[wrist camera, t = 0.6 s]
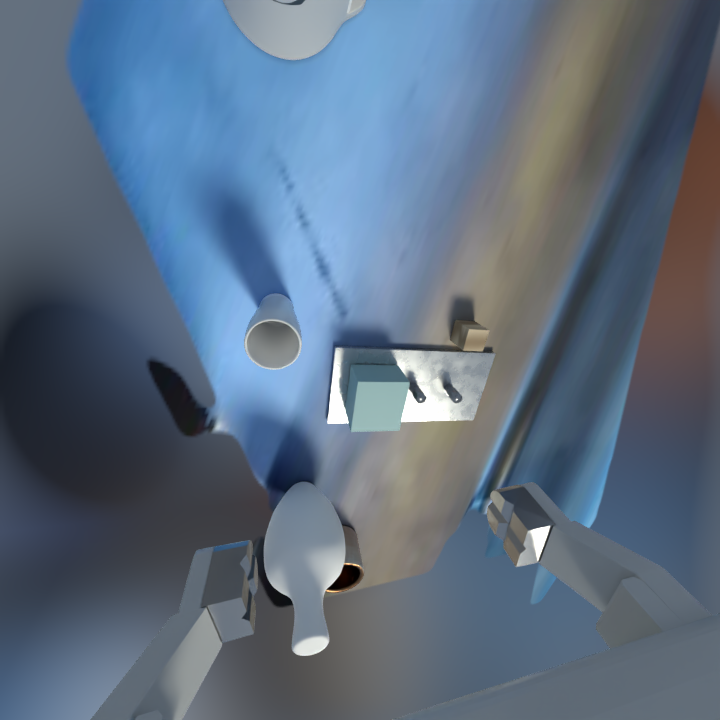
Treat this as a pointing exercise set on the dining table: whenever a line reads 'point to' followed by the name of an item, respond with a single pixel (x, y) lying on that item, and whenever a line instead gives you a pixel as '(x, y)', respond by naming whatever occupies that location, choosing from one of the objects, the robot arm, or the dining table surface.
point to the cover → (376, 397)
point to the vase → (305, 560)
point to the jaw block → (469, 335)
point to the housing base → (418, 380)
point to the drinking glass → (273, 333)
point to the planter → (349, 564)
